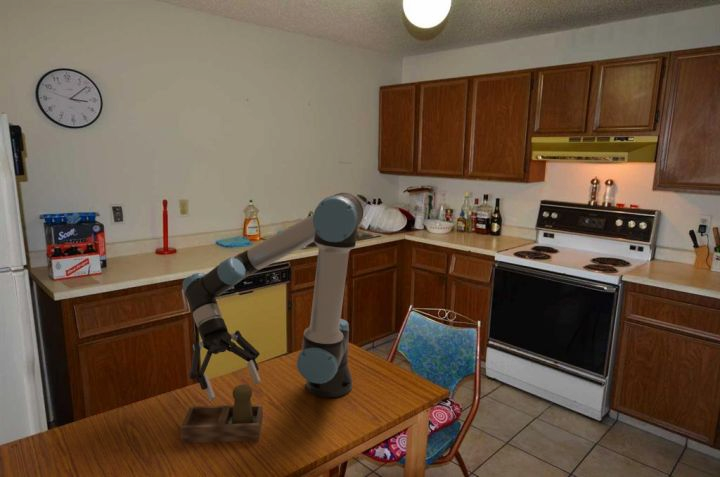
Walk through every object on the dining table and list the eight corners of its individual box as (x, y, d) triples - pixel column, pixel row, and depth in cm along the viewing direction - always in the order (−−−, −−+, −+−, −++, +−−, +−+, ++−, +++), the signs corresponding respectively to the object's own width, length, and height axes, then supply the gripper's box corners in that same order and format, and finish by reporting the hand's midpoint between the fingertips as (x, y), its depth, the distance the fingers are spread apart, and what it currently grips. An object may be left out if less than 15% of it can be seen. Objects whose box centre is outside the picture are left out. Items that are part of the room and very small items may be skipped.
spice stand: (262, 418, 130) (262, 404, 130) (259, 440, 121) (258, 425, 120) (190, 421, 128) (190, 406, 127) (181, 443, 118) (180, 427, 118)
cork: (248, 431, 121) (247, 394, 119) (227, 428, 122) (226, 391, 120) (257, 419, 127) (257, 383, 125) (237, 416, 128) (237, 380, 126)
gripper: (244, 319, 143) (270, 381, 135) (163, 339, 126) (187, 411, 118) (253, 307, 138) (280, 371, 130) (169, 327, 121) (195, 401, 113)
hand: (236, 390), depth 124 cm, fingers open, 13 cm apart
